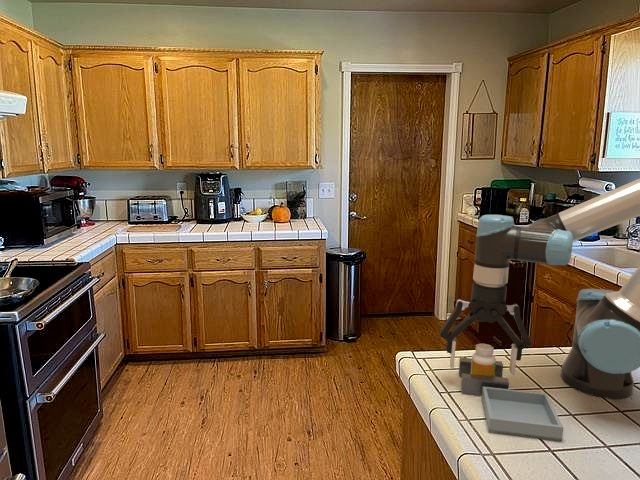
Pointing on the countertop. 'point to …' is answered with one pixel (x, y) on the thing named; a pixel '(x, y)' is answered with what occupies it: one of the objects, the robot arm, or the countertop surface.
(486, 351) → the supplement bottle
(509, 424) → the grey tray
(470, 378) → the steel jaws
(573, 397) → the countertop surface
